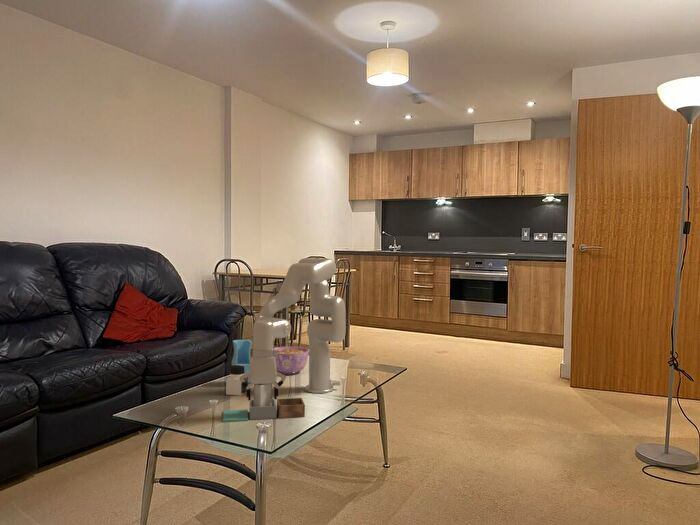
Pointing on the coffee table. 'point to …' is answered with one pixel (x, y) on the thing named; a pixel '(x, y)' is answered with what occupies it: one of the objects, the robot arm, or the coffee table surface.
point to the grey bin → (263, 411)
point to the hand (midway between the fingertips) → (262, 398)
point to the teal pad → (235, 415)
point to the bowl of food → (290, 359)
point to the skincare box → (262, 395)
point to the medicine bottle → (236, 381)
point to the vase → (242, 354)
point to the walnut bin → (290, 407)
